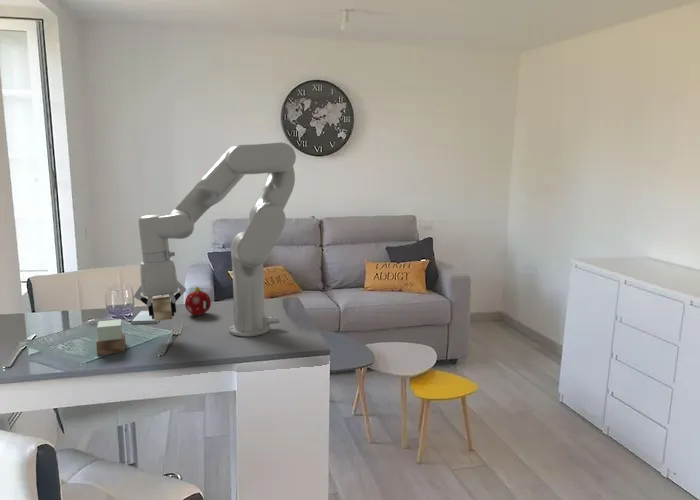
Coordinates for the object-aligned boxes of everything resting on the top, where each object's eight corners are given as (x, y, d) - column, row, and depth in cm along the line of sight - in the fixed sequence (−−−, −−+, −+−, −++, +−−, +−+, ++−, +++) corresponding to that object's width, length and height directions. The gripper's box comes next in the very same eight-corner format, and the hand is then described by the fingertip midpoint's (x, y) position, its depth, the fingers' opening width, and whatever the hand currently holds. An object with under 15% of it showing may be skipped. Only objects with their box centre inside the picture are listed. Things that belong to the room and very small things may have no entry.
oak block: (171, 314, 166) (169, 295, 165) (172, 318, 161) (170, 299, 160) (154, 316, 164) (152, 297, 163) (154, 321, 160) (152, 301, 159)
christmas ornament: (202, 310, 195) (201, 282, 194) (215, 314, 189) (215, 286, 188) (180, 314, 189) (179, 286, 187) (193, 320, 183) (192, 291, 182)
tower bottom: (125, 344, 159) (124, 331, 159) (124, 352, 153) (123, 339, 152) (99, 347, 157) (98, 334, 156) (97, 355, 150) (96, 342, 150)
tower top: (122, 332, 158) (121, 319, 157) (121, 338, 152) (120, 325, 152) (99, 334, 156) (98, 321, 155) (98, 341, 150) (97, 327, 149)
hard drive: (157, 320, 179) (164, 309, 191) (131, 321, 178) (140, 310, 190) (157, 325, 179) (164, 314, 191) (131, 326, 178) (140, 315, 190)
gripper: (185, 251, 166) (191, 309, 169) (125, 257, 160) (133, 317, 164) (187, 256, 159) (193, 315, 162) (124, 262, 153) (132, 324, 157)
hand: (163, 315), depth 163 cm, fingers closed on oak block, 5 cm apart
